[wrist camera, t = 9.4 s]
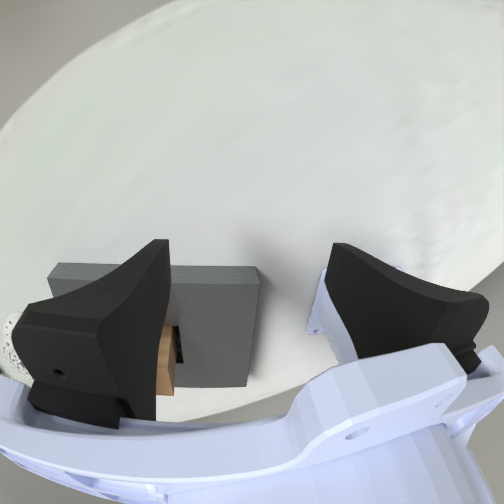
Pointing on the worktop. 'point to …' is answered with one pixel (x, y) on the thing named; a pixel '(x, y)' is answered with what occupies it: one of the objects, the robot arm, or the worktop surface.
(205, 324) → the hole plate
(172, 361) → the walnut peg
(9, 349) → the mechanical component
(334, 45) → the worktop surface
